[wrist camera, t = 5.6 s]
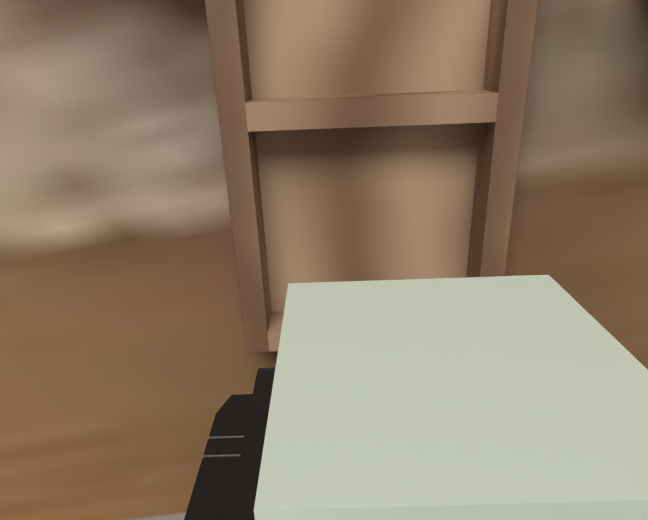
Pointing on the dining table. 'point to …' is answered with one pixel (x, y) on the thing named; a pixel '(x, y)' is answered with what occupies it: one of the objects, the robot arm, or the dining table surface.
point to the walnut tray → (367, 140)
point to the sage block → (451, 406)
